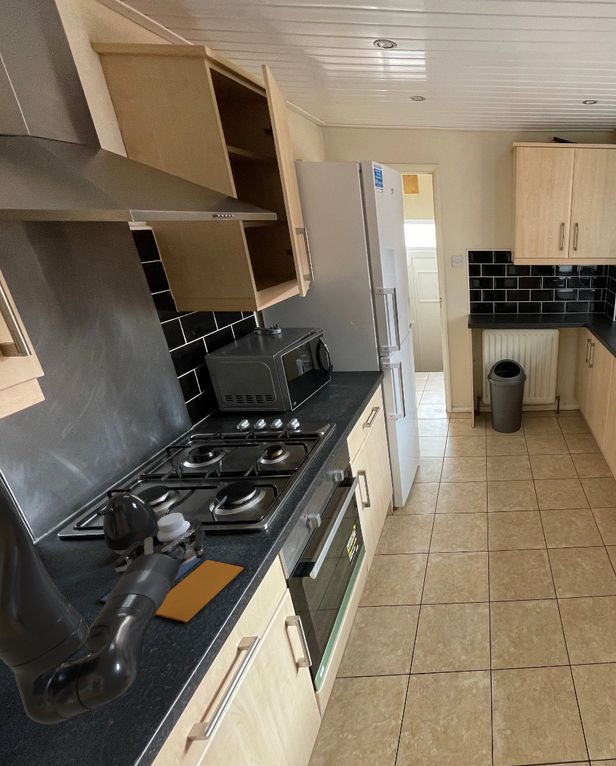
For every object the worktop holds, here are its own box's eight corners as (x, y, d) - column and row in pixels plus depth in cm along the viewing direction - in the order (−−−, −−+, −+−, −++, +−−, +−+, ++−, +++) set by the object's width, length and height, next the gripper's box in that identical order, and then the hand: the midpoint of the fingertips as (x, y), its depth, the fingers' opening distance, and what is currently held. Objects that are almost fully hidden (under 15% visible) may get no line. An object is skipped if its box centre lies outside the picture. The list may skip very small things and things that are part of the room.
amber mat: (186, 622, 82) (185, 621, 82) (146, 612, 84) (145, 610, 84) (243, 568, 95) (243, 567, 95) (207, 561, 97) (207, 559, 97)
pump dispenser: (99, 561, 97) (74, 508, 91) (141, 530, 106) (121, 480, 101) (138, 565, 96) (115, 511, 90) (177, 533, 105) (159, 483, 100)
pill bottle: (172, 551, 87) (158, 513, 84) (202, 545, 89) (190, 507, 85) (163, 570, 82) (147, 531, 79) (195, 562, 84) (181, 524, 81)
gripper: (185, 561, 72) (215, 503, 87) (81, 583, 67) (131, 518, 82) (197, 594, 74) (224, 532, 89) (98, 617, 70) (143, 548, 85)
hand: (180, 525), depth 86 cm, fingers closed on pill bottle, 5 cm apart
